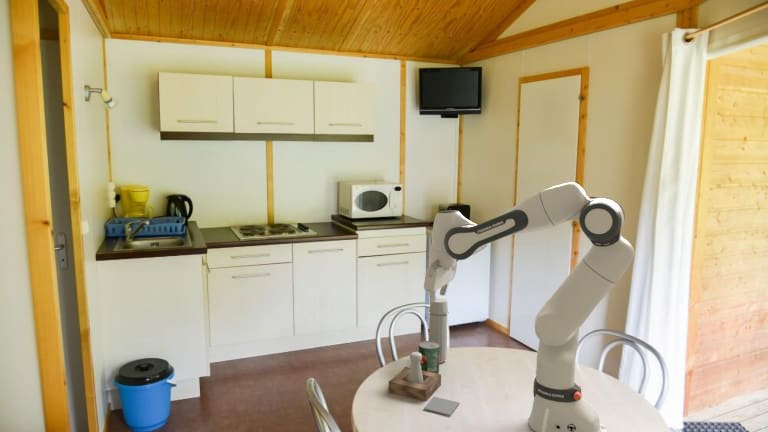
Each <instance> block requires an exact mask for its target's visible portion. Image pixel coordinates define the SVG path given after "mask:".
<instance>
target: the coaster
mask: <svg viewBox="0 0 768 432" xmlns="http://www.w3.org/2000/svg"><path fill="white" fill-rule="evenodd" d="M459 406H460V402H458V401H454V400H450V399H447V398H442V397H438V396H433V397H432V398H431V399H430V401H429V402H427V404H426V405H425V406H424V407H423V411H426V412H427V411H428V412H431V413H435V414H439V415H443V416H447V417H452V415H453V413H455V411H456V410H457V409H458V407H459Z"/></svg>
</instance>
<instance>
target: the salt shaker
mask: <svg viewBox="0 0 768 432" xmlns="http://www.w3.org/2000/svg"><path fill="white" fill-rule="evenodd" d="M409 360H410V363H409V364H410V366H409V368H410V369H409V375H408V380H407V381H409V382H414V383H418V384H422V383H423V382H424V381H423V376H422V370H421V364H420V361H421V360H422V354H421V353H419V351H413V352H411V353H409Z"/></svg>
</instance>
